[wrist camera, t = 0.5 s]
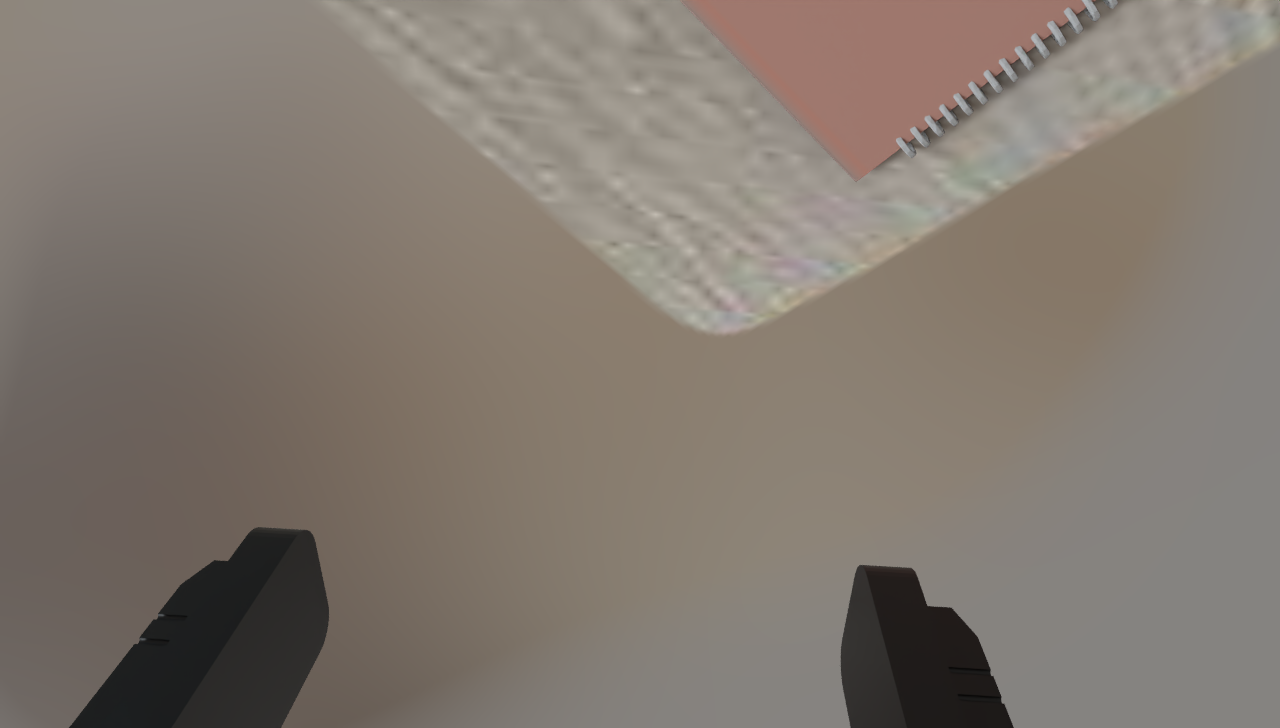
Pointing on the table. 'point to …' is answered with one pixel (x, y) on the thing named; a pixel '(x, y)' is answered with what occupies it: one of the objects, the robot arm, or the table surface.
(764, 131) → the table surface
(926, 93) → the notebook
